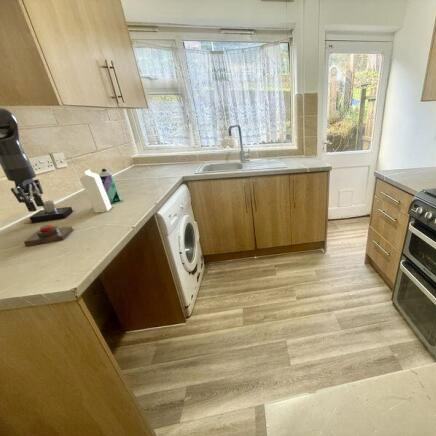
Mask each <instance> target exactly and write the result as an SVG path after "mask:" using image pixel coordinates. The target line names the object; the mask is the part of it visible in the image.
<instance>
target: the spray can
mask: <svg viewBox="0 0 436 436" xmlns="http://www.w3.org/2000/svg"><path fill="white" fill-rule="evenodd" d="M98 175H99V177H100V179H101V182H102V184H103V187H104V189H105V192H106V194H107V197H108V199H109V202H110V204H116V203H120V202H122V198H121V195H120V193H119V190H118V188H117V187H118V186H117V184H116V182H115V179H114V177H113V173H112V172H111V171H108V170H107V169H106V168H101V172H100V173H98Z"/></svg>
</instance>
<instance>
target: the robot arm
mask: <svg viewBox="0 0 436 436" xmlns="http://www.w3.org/2000/svg"><path fill="white" fill-rule="evenodd" d="M19 132H20V131H19V122H18V120H17V118H16V116H15V114H13V113H12V112H11V111H10V110H9V109H7V108H3V107H0V167H1V169H2V171H3V173H4V175H5V177H6V178H7V180H8V181H9V182H14V187H11V188H10V191H11V193H12V194H13V196H14V197H15V198H16V200H17V202H18V203H19V204H21V203H23V204H25V207H26V209H27V211H28V212H29V213H32V212H36V211H38V210H37V207H38V208H39V207H40V208H41V207H42V206H44V203H43V202H44V200H43V198H42V196H43V195H44V191H43V188H42V185H41V182H40V180H39V179H35V178H36V177H37V175H36V173H35V170H34V168H33V166H32V164H31V162H30V159H29V157H28V155H27V154H26V153H25V151H24V148H23V146H22V144H21V142H20V133H19Z"/></svg>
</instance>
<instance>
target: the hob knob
mask: <svg viewBox="0 0 436 436" xmlns="http://www.w3.org/2000/svg"><path fill="white" fill-rule="evenodd" d="M43 203H44V206H41V207H42V210H44V211H45V213H53V212H56V211H57V209H56V205H55V203H54V200H47V201H43Z"/></svg>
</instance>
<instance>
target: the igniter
mask: <svg viewBox="0 0 436 436" xmlns="http://www.w3.org/2000/svg"><path fill="white" fill-rule="evenodd" d="M52 227H53V230H50V231H47V232H41V230H40V229H38V230H37V231H35V232H34V233H33V234H32V235H30V236H29V237H28V238H26V239H25V240H24V241H23V243H24V245H25V247H26V248H27V247H32V246H38V245H39V246H40V245H45V244H50V243H56V242H61V241H65V239H66V238H67V237H68V236H69V235H70V234H71V233H72V232H73V231H74V229H73V227H72V226H63V227H58V226H54V225H52Z"/></svg>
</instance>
